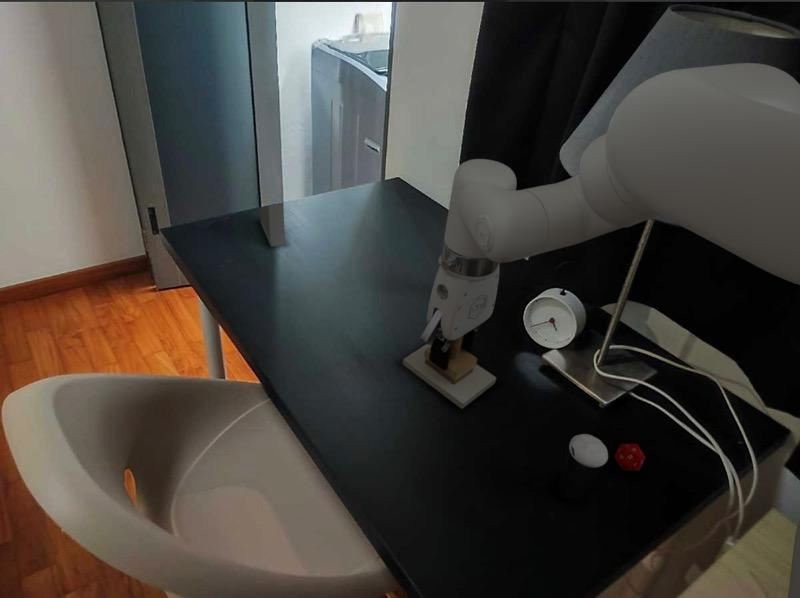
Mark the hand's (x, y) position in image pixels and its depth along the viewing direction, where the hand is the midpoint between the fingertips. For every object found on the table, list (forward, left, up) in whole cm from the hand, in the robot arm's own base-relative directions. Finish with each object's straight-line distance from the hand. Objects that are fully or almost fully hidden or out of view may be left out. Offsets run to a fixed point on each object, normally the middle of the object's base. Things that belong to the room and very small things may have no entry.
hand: (450, 355), depth 86 cm
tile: (0, 0, -4) cm, 4 cm away
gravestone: (+49, -3, -4) cm, 49 cm away
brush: (0, 0, -2) cm, 2 cm away
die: (-27, -6, -4) cm, 28 cm away
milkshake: (-24, +4, -4) cm, 25 cm away
